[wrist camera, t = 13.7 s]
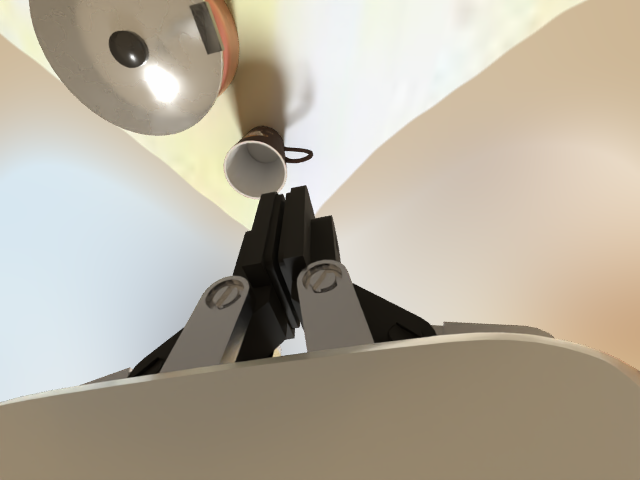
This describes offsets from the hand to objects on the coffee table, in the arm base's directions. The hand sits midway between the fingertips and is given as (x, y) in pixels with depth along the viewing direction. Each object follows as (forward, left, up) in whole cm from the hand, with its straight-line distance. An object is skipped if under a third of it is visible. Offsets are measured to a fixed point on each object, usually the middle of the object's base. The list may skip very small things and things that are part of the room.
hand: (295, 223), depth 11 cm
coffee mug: (+8, +10, -39) cm, 41 cm away
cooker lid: (+16, -7, -27) cm, 32 cm away
